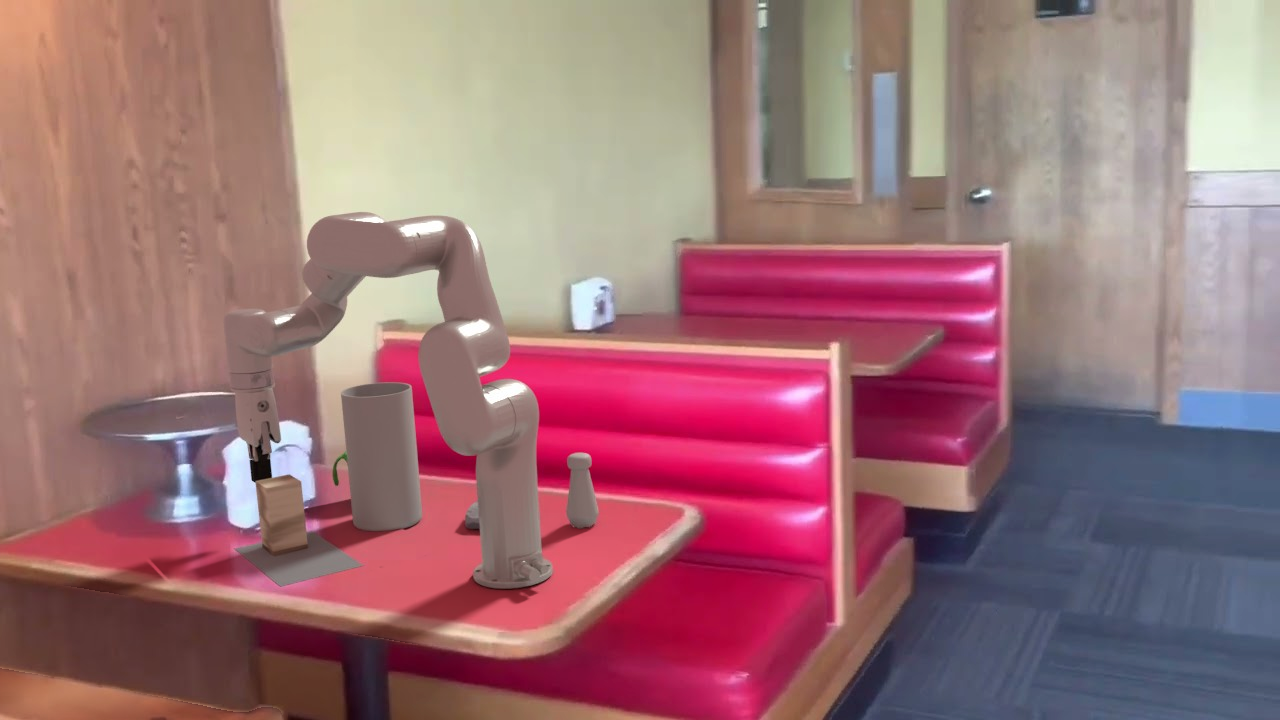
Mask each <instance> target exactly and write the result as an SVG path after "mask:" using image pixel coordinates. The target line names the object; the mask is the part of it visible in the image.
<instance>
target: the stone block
mask: <svg viewBox="0 0 1280 720" xmlns="http://www.w3.org/2000/svg"><path fill="white" fill-rule="evenodd" d="M464 523H465V527H466V528H467V529H470V530H475V529H476V530H480V525H479V511H478V499H477V500H476V501H475V502H474V503H472V504H470V506H469V507H468V508H467V510H466V513H465V516H464Z"/></svg>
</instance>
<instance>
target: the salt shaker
mask: <svg viewBox="0 0 1280 720" xmlns="http://www.w3.org/2000/svg"><path fill="white" fill-rule="evenodd" d="M592 461H593V460H592V457H591V455H590V454H589V453H586V452H574V453H571V454H570V455H568V456H567V459H566V462H567V467H568V469H570V477H569V486H568V487H569V488H568V494H567V495H568V496H567V501H566V502H567V503H566V509H565V512H566V517H567V520H568V521H569V523H570V525H571V527H572V528H575V527H577V529H584V528H583V527H589V528H591V527H593V526H594V525H593V524H596V522H597V519H598V516H599V514H600V513H599V512H600V511H599V510H600V509H599V506H598V502H597V497H596V494H595V493H596V492H595V489H594V486H593V481H592V478H591V473H590V470H589V468H591V467H592ZM592 525H593V526H592ZM573 526H574V527H573ZM590 526H591V527H590Z"/></svg>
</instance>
